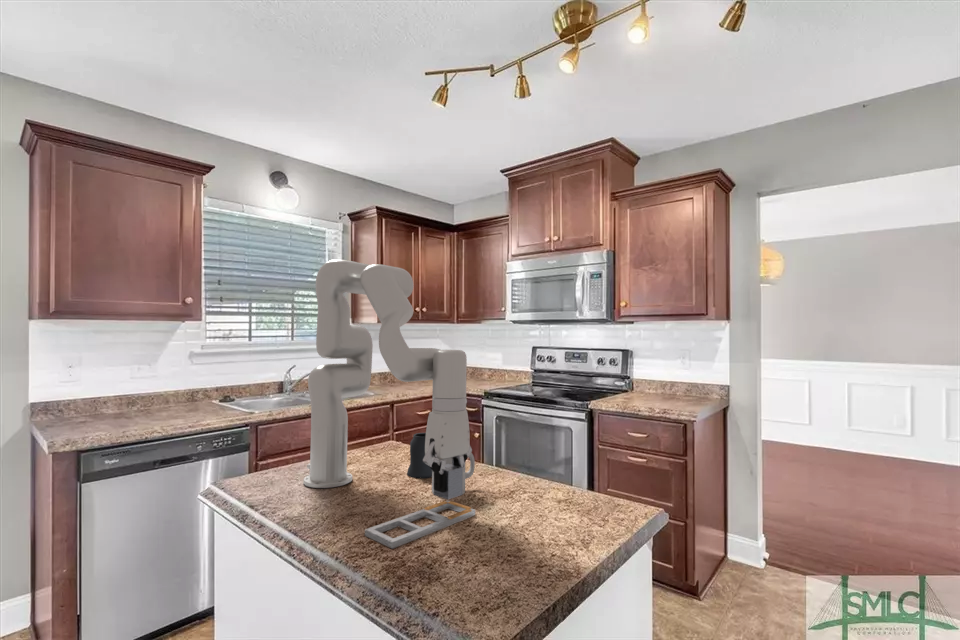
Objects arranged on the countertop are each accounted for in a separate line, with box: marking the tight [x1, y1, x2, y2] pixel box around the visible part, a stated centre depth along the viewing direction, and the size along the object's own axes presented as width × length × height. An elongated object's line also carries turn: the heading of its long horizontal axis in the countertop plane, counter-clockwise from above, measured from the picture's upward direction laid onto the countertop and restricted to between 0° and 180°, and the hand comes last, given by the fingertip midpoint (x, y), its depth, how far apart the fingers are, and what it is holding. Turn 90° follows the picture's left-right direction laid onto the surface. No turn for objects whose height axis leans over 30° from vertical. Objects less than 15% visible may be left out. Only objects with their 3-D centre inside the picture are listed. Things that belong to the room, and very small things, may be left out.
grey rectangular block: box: [433, 464, 463, 501], centre depth 105 cm, size 4×4×6 cm
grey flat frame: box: [364, 500, 476, 550], centre depth 99 cm, size 9×23×1 cm, turn 139°
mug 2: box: [406, 432, 432, 480], centre depth 138 cm, size 12×9×11 cm
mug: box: [431, 452, 476, 495], centre depth 122 cm, size 12×8×11 cm
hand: (448, 487), depth 105 cm, fingers closed on grey rectangular block, 4 cm apart
